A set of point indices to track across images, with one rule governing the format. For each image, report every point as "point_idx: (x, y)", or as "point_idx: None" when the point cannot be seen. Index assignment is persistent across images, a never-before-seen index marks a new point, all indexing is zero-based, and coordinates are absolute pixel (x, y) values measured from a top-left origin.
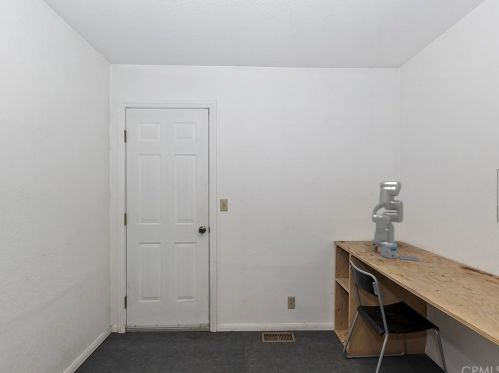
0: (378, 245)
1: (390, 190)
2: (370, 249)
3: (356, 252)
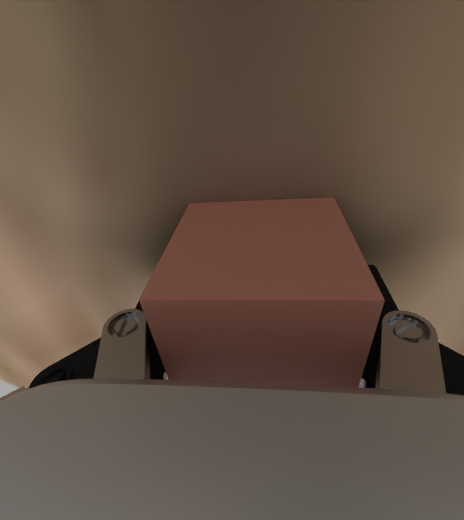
0: (201, 365)
1: None
2: (17, 107)
3: (12, 373)
